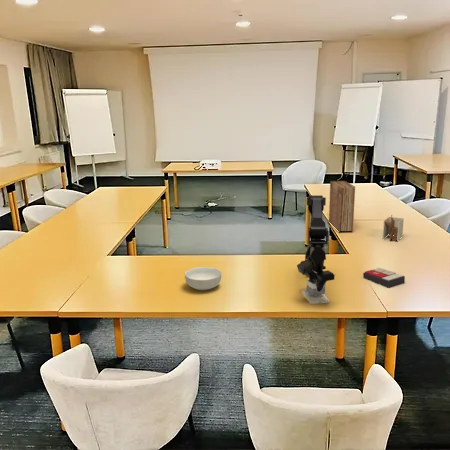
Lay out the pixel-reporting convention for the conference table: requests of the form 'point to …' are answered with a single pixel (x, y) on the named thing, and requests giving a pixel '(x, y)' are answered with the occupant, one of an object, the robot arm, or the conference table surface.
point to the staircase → (393, 227)
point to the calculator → (384, 277)
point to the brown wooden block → (341, 205)
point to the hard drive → (315, 298)
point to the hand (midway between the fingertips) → (316, 289)
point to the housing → (314, 288)
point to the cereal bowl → (203, 278)
